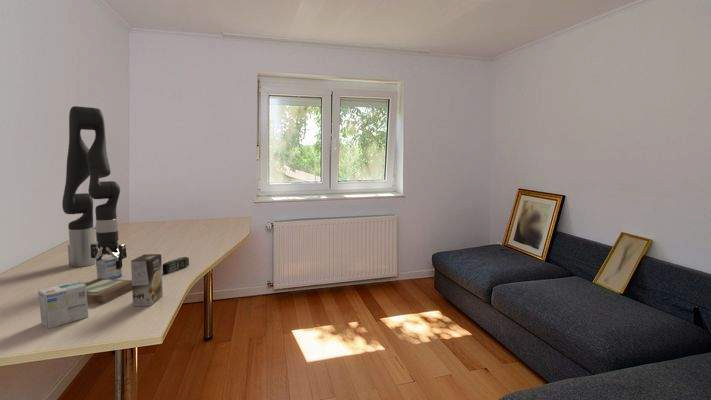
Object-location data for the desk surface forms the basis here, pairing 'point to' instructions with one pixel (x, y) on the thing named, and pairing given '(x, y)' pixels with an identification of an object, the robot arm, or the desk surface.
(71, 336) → the desk surface
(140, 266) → the coffee box
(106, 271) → the medicine box
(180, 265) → the dark remote control
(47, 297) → the light bulb box
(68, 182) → the robot arm
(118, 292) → the walnut plinth
